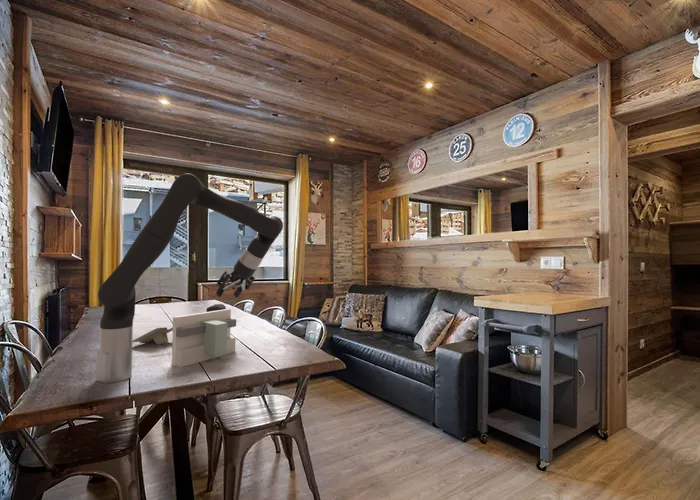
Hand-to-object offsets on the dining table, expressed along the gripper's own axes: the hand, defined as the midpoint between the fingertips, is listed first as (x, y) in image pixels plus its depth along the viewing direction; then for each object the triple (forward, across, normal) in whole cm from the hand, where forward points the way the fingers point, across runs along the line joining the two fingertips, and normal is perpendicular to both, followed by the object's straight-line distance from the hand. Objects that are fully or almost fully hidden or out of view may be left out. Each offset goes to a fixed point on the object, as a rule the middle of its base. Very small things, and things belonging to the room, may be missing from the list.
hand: (226, 295), depth 139 cm
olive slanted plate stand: (+51, -8, -26) cm, 58 cm away
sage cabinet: (+24, -4, +6) cm, 25 cm away
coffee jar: (+36, -22, -8) cm, 43 cm away
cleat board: (+29, -5, +4) cm, 30 cm away
